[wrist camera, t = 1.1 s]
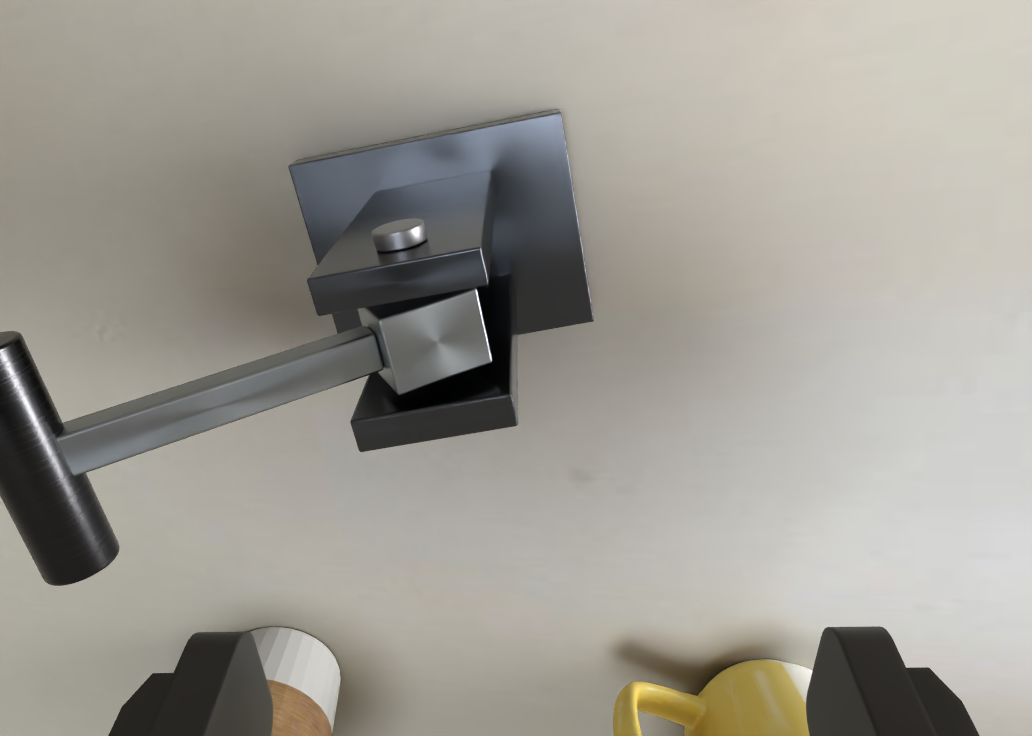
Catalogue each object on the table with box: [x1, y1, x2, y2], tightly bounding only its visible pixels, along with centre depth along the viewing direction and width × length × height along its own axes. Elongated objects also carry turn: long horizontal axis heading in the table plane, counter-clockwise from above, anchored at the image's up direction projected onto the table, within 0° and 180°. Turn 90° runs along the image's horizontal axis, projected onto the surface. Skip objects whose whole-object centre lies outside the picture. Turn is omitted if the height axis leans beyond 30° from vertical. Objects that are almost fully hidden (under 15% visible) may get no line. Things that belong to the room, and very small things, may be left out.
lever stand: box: [289, 109, 594, 452], centre depth 26 cm, size 10×8×12 cm
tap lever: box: [0, 288, 492, 586], centre depth 21 cm, size 12×6×2 cm, turn 101°
